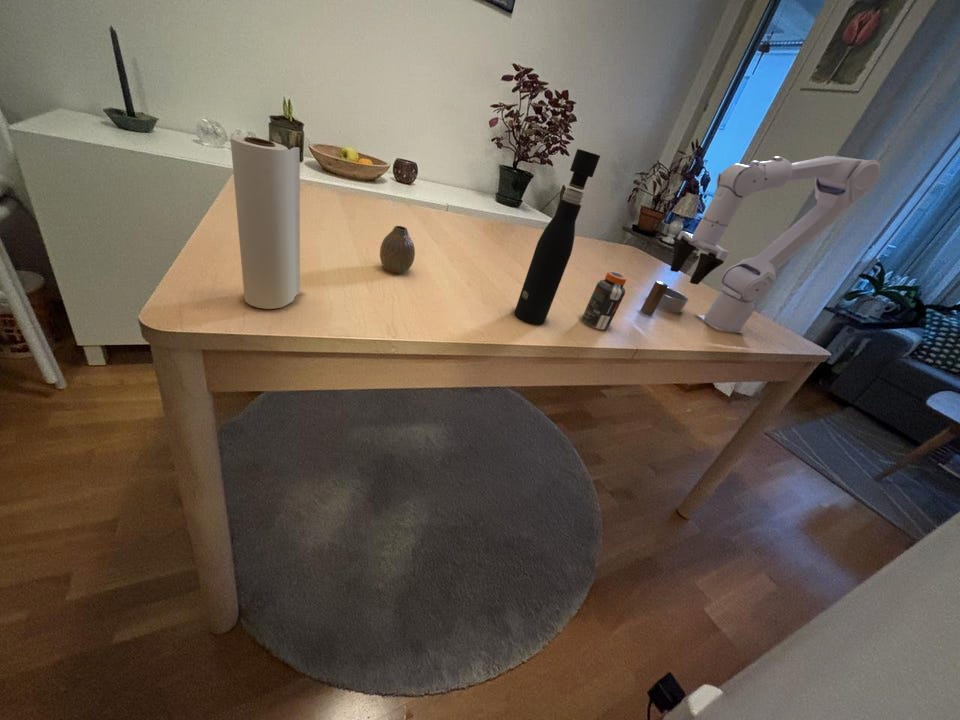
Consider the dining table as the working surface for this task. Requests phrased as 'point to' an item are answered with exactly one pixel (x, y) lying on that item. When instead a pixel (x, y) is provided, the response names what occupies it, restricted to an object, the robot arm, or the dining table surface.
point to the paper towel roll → (268, 219)
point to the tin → (673, 301)
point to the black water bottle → (555, 246)
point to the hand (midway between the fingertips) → (683, 277)
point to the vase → (397, 251)
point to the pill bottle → (605, 301)
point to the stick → (654, 298)
